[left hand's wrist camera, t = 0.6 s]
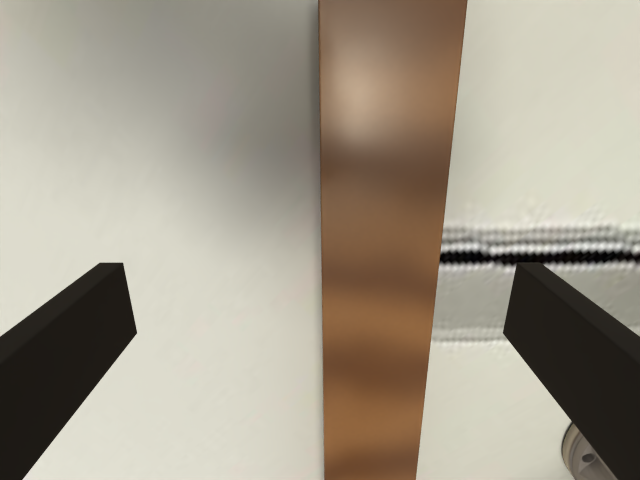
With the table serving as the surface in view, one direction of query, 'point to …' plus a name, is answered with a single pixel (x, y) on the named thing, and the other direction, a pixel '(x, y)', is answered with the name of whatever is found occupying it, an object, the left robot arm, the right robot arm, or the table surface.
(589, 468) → the right robot arm
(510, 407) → the table surface
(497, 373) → the table surface
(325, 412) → the brown wooden bar
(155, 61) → the table surface
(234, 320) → the table surface
